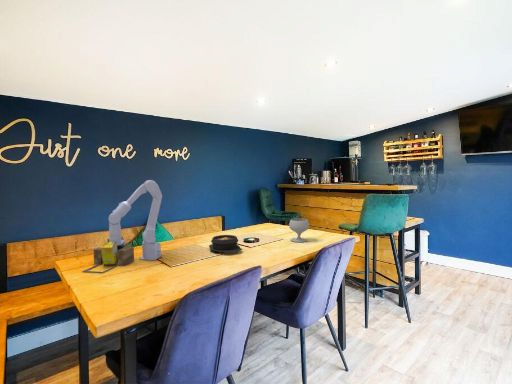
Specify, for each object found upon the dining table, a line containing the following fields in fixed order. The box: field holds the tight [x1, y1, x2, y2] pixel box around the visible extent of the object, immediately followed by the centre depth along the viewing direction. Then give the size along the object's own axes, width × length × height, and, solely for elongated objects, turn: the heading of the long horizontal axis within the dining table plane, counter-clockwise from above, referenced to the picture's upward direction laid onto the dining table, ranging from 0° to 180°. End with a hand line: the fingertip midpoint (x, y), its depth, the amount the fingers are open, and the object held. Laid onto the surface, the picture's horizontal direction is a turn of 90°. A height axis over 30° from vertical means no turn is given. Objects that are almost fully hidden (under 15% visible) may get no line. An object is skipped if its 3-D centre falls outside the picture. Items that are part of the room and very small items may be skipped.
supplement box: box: [99, 241, 118, 267], centre depth 148 cm, size 6×6×11 cm
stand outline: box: [81, 264, 119, 274], centre depth 142 cm, size 11×11×1 cm
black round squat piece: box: [208, 234, 242, 254], centre depth 176 cm, size 25×19×8 cm
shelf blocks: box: [93, 246, 135, 267], centre depth 152 cm, size 18×8×8 cm, turn 80°
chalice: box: [288, 218, 310, 243], centre depth 201 cm, size 14×14×15 cm
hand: (116, 259), depth 154 cm, fingers closed, pressing on supplement box
